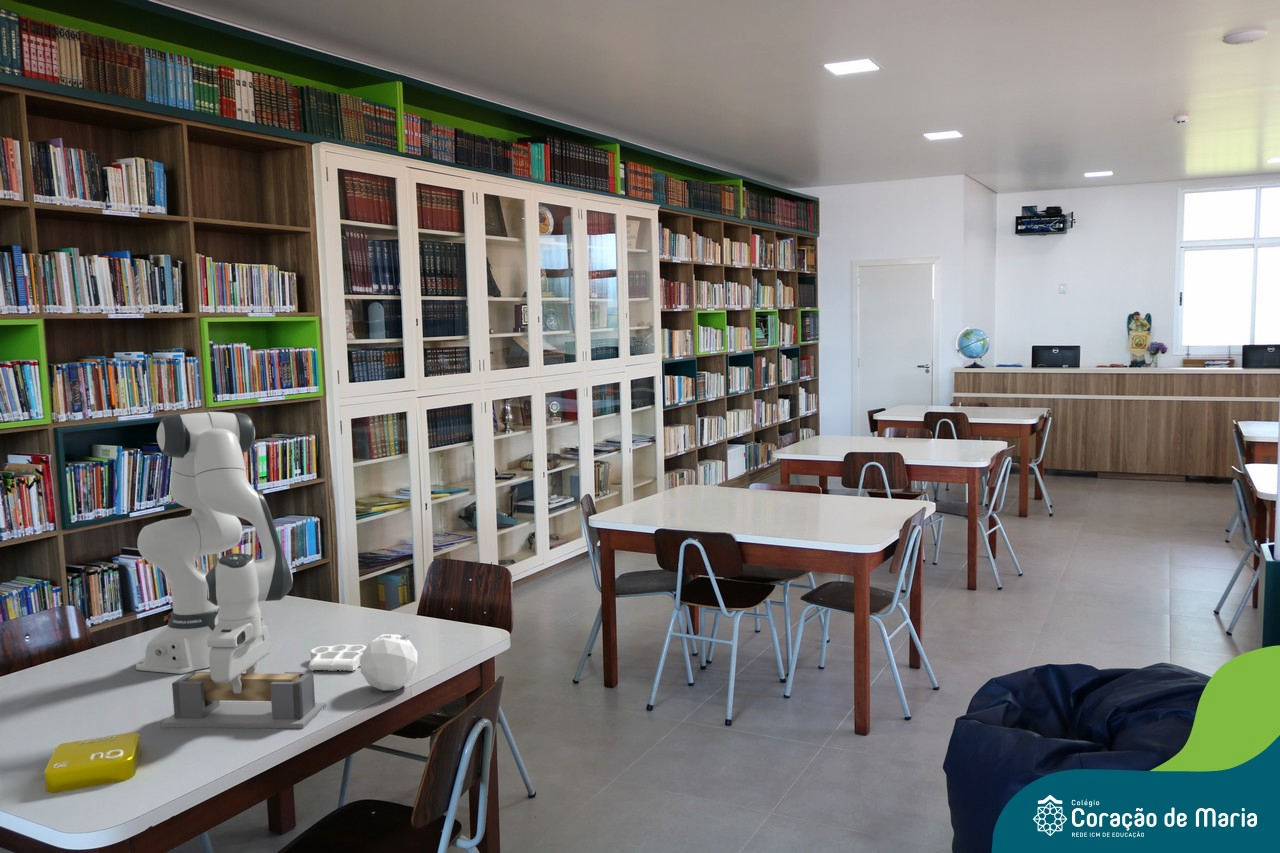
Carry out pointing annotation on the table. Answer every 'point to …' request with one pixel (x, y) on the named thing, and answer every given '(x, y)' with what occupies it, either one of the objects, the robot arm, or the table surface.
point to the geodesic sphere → (389, 662)
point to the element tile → (93, 762)
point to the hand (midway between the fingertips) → (244, 688)
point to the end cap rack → (245, 706)
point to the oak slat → (253, 686)
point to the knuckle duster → (336, 657)
